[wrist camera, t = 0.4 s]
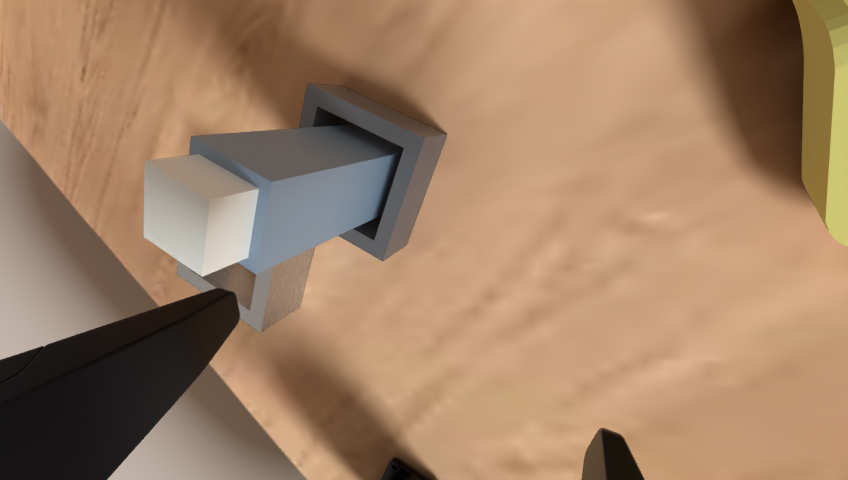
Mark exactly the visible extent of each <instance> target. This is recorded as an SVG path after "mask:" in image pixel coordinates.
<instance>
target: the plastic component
mask: <svg viewBox="0 0 848 480" xmlns="http://www.w3.org/2000/svg"><path fill="white" fill-rule="evenodd" d="M792 1H793V3H794V5H795V8H796V11H797V14H798V18H799V22H800V28H801V33H802V40H803V50H804V83H803V128H802V172H801V176H802V181H803V184H804V186H805V188H806V190H807V192H808V194H809V196H810V198H811V200H812V201H813V203H814V205H815V207H816V209H817V211H818V213H819V214H820V216H821V218H822V220H823V222H824V224H825V226H826V227H827V229H828V231H829V233H830V234H831V235H832V236H833V237H834V238H835V239H836V240H837V241H838V242H839V243H840V244H842V245H844V246H846V247H848V0H792Z"/></svg>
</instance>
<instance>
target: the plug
mask: <svg viewBox="0 0 848 480" xmlns="http://www.w3.org/2000/svg"><path fill="white" fill-rule="evenodd" d="M403 149H404V148H403V147H401V146H399V145H397V144H394V143H392V142H390V141H388V140H386V139H384V138H382V137H380V136H378V135H376V134H374V133H372V132H370V131H368V130H365V129H363V128H361V127H359V126H357V125H355V124H349V125H335V126H322V127H308V128H295V129H281V130H268V131H254V132H241V133H227V134H214V135H200V136H191V141H190V155H188V156H180V157H171V158H163V159H155V160H146V161H145V183H144V237H145V238H146V239H147V240H149V241H150V242H152V243H153V244H155V245H156V246H158V247H159V248H161V249H162V250H163V251H165V252H166V253H168V254H169V255H171V256H172V257H174V258H175V259H177V260H178V261H180V262H181V263H182V264H184V265H185V266H187V267H188V268H190V269H191V270H193V271H194V272H196V273H197V274H198V275H200V276H201V277H203V276H205V275H208V274H210V273H212V272H215V271H217V270H220V269H222V268H225V267H227V266H229V265H232V264H234V263H237V262H238V263H239V264H241V265H242V266H244V267H245V268H247V269H249V270H250V271H252V272H253V273H255V274H257V273H260V272H262V271H264V270H266V269H268V268H270V267H272V266H274V265H277V264H279V263H281V262H283V261H285V260H287V259H289V258H291V257H294V256H296V255H298V254H300V253H302V252H304V251H306V250H309V249H311V248H313V247H315V246H317V245H319V244H321V243H323V242H326V241H328V240H330V239H332V238H334V237H336V236H338V235H340V234H343V233H345V232H347V231H349V230H351V229H353V228H355V227H357V226H360V225H362V224H364V223H366V222H368V221H370V220H372V219H374V218H377V217H379V216H381V215H383V212H384V209H385V205H386V202H387V199H388V196H389V193H390V190H391V187H392V184H393V181H394V177H395V174H396V171H397V168H398V165H399V162H400V159H401V156H402V153H403Z"/></svg>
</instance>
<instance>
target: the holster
mask: <svg viewBox="0 0 848 480" xmlns="http://www.w3.org/2000/svg"><path fill="white" fill-rule="evenodd" d="M346 120H347V121H349V122H351V123H353V124H355V125H357V126H359V127H361V128H363V129H365V130H368V131H370V132H372V133H374V134H376V135H378V136H380V137H382V138H384V139H386V140H388V141H390V142H392V143H394V144H397V145H399V146H401V147H403V148H404V149H403V153H402V156H401V159H400V162H399V165H398V168H397V171H396V174H395V177H394V181H393V184H392V187H391V190H390V193H389V196H388V199H387V202H386V205H385V209H384V212H383V215H382V217H380V216H379V217H377V218H374V219H372V220H370V221H368V222H366V223H364V224H362V225H360V226H357V227H355V228H353V229H351V230H349V231H347V232H345V233H343V234H340V235H338V236H340V237H342V238H343V239H345V240H347V241H348V242H350V243H352V244H354V245H355V246H357V247H359V248H361V249H362V250H364V251H366V252H367V253H369V254H371V255H373V256H374V257H376V258H378V259H380V260H381V261H384V260H385V259H387V258H388V257H390V256H391V255H393V254H394V253H396V252H397V251H399V250H400V249H402V248H403V247H405V246H406V245H407V243H408V240H409V237H410V235H411V232H412V229H413V226H414V224H415V221H416V218H417V216H418V213H419V210H420V207H421V205H422V202H423V199H424V196H425V194H426V191H427V188H428V186H429V183H430V180H431V177H432V175H433V172H434V169H435V167H436V164H437V161H438V158H439V156H440V153H441V150H442V147H443V145H444V142H445V139H446V137H447V134H446V133H443V132H441V131H439V130H437V129H435V128H432V127H430V126H428V125H426V124H424V123H422V122H419V121H417V120H415V119H413V118H411V117H408V116H406V115H404V114H402V113H400V112H397V111H395V110H393V109H391V108H389V107H387V106H384V105H382V104H380V103H378V102H376V101H373V100H371V99H369V98H367V97H365V96H362V95H360V94H358V93H356V92H354V91H352V90H349V89H347V88H345V87H343V86H339V85H325V84H310V83H307V89H306V94H305V99H304V104H303V109H302V114H301V120H300V125H299V128H308V127H322V126H335V125H345V121H346Z"/></svg>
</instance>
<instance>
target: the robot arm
mask: <svg viewBox="0 0 848 480" xmlns="http://www.w3.org/2000/svg"><path fill="white" fill-rule="evenodd" d="M239 319H240V311H239V306H238V301H237V296H236V294H235V292H233V291H231V290H228V289H225V288H221V287H219V288H215V289H212V290H209V291H206V292H203V293H200V294H197V295H194V296H191V297H188V298H185V299H182V300H179V301H176V302H173V303H170V304H167V305H164V306H161V307H158V308H155V309H152V310H149V311H146V312H143V313H140V314H137V315H135V316H131V317H129V318H125V319H122V320H119V321H116V322H113V323H111V324H107V325H105V326H101V327H98V328H95V329H92V330H89V331H87V332H83V333H80V334H77V335H74V336H71V337H68V338H66V339H63V340H60V341H56V342H53V343H50V344H48V345H46V346H45V347H43V346H41V347H38V348H35V349H32V350H29V351H26V352H24V353H20V354H17V355H14V356H11V357H8V358H5V359H2V360H0V480H107V479H108V478H109V477H110V476H111V475H112V473H113V472H114V471H115V470H116V469H117V468H118V467H119V466H120V464H121V463H122V462H123V461H124V460H125V459H126V458H127V457H128V455H129V454H130V453H131V452H132V451H133V450H134V449H135V447H136V446H137V445H138V444H139V443H140V442H141V441H142V440H143V439H144V437H145V436H146V435H147V434H148V433H149V432H150V431H151V430H152V428H153V427H154V426H155V425H156V424H157V423H158V421H159V420H160V419H161V418H162V417H163V416H164V415H165V414H166V413H167V411H168V410H169V409H170V408H171V407H172V406H173V405H174V404H175V402H176V401H177V400H178V399H179V398H180V397H181V396H182V394H183V393H184V392H185V391H186V390H187V389H188V388H189V387H190V385H191V384H192V383H193V382H194V381H195V380H196V379H197V377H198V376H199V375H200V374H201V372H202V371H203V370H204V369H205V367H206V366H207V365H208V364H209V362H210V361H211V359H212V358H213V357H214V355H215V354H216V353H217V351H218V350H219V348H220V347H221V346H222V344H223V343H224V342H225V340H226V339H227V338H228V336H229V335H230V333H231V332H232V331H233V329H234V328H235V327H236V325H237V324H238V322H239ZM381 480H426V479H424V478H423V477H422V476H420V475H419V474H418V473H416V472H415V471H413V470H412V469H411V468H409V467H408V466H406V465H405V464H404V463H402V462H401V461H400V460H398V459H396V458H393V459H392V460H391V461H390V463H389V464H388V466H387V469H386V471H385V473H384V475H383V477H382V479H381ZM582 480H645V479H644V477H643V475H642V473H641V471H640V469H639V467H638V465H637V463H636V461H635V459H634V457H633V455H632V453H631V451H630V449H629V447H628V445H627V443H626V441H625V439H624V438H623V436H622V435H620V434H619V433H616V432H613V431H611V430H608V429H605V428H600V429H599V430H598V431H597V433H596V435H595V436H594V438H593V440H592V441H591V443H590V445H589V446H588V448H587V450H586V453H585V457H584V464H583V473H582Z"/></svg>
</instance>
